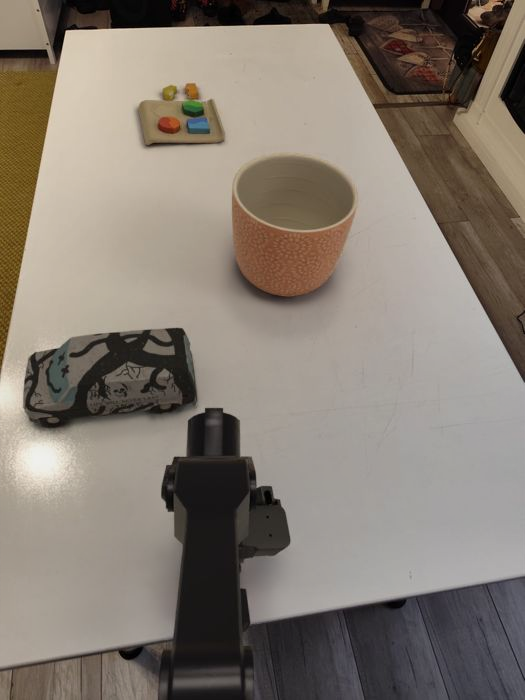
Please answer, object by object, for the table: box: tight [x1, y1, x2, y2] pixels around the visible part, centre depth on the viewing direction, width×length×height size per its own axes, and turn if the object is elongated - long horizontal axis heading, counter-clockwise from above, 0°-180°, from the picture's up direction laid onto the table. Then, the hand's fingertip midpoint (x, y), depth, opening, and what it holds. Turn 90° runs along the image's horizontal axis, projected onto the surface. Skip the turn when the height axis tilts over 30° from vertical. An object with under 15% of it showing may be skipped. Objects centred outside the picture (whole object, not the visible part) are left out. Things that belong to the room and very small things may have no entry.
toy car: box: [22, 327, 199, 429], centre depth 78 cm, size 11×25×10 cm, turn 100°
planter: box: [231, 152, 359, 297], centre depth 93 cm, size 21×21×19 cm
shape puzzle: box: [138, 82, 226, 146], centre depth 128 cm, size 25×19×3 cm
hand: (212, 561), depth 66 cm, fingers closed
